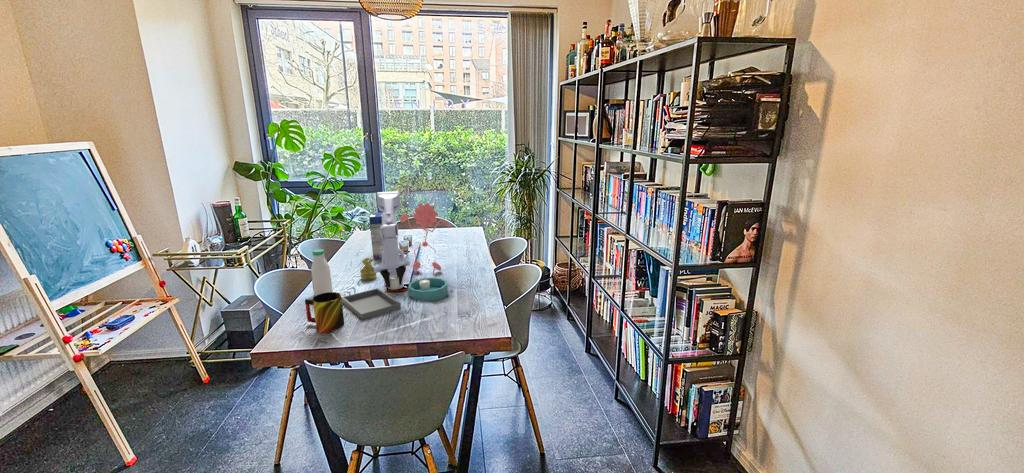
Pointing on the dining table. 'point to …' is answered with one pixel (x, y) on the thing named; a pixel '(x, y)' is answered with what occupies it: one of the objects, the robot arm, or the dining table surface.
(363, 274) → the olive yellow vase
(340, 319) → the mug
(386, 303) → the tray
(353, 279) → the dining table surface
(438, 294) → the bowl
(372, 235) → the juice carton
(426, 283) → the stone
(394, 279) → the stone
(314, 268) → the milk bottle
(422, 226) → the figurine
